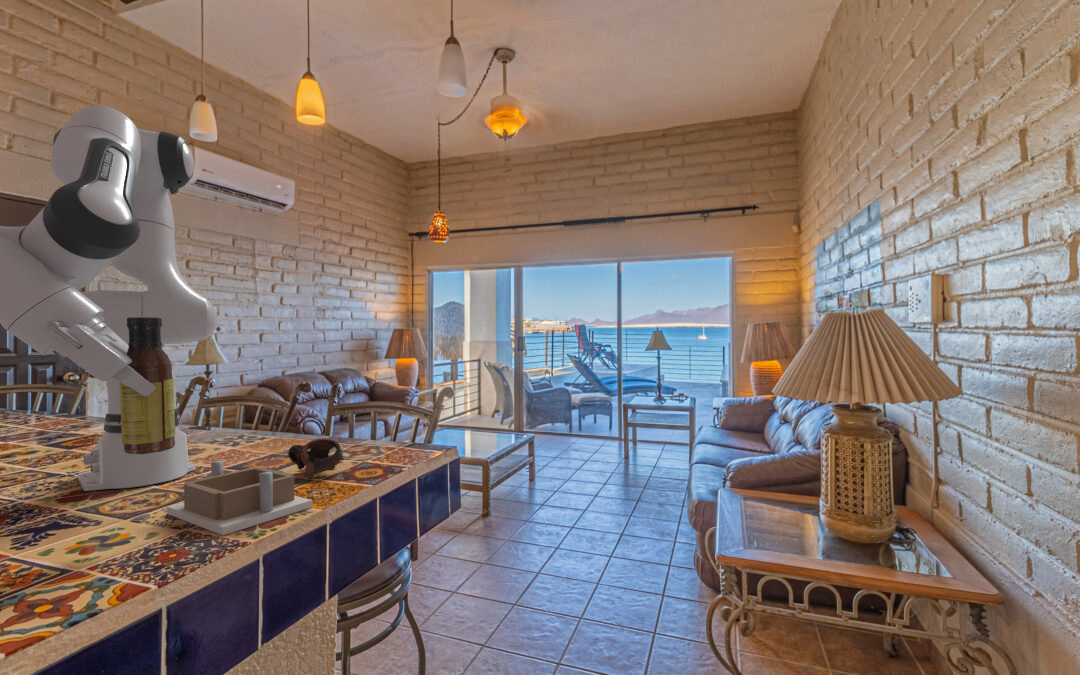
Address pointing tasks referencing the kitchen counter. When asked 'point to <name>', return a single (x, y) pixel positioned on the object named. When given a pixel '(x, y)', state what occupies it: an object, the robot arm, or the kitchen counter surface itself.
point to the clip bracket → (238, 499)
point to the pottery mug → (315, 456)
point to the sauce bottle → (151, 415)
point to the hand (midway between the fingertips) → (153, 390)
